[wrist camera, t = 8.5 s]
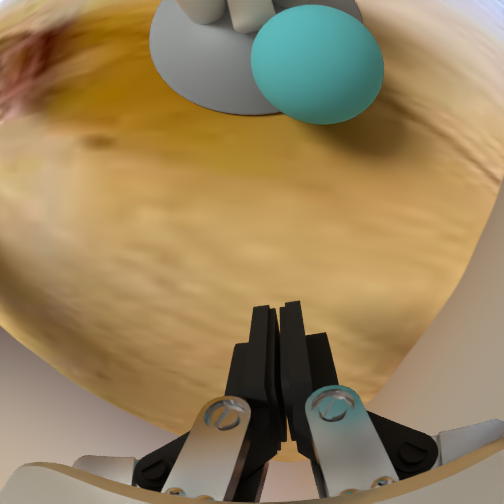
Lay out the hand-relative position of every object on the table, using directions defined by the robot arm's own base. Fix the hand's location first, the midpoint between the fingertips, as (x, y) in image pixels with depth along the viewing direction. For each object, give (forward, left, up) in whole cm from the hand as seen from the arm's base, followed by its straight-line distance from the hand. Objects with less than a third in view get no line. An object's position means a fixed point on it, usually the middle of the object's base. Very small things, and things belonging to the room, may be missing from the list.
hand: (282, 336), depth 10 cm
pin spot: (+1, +15, -7) cm, 17 cm away
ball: (+3, +10, -4) cm, 12 cm away
